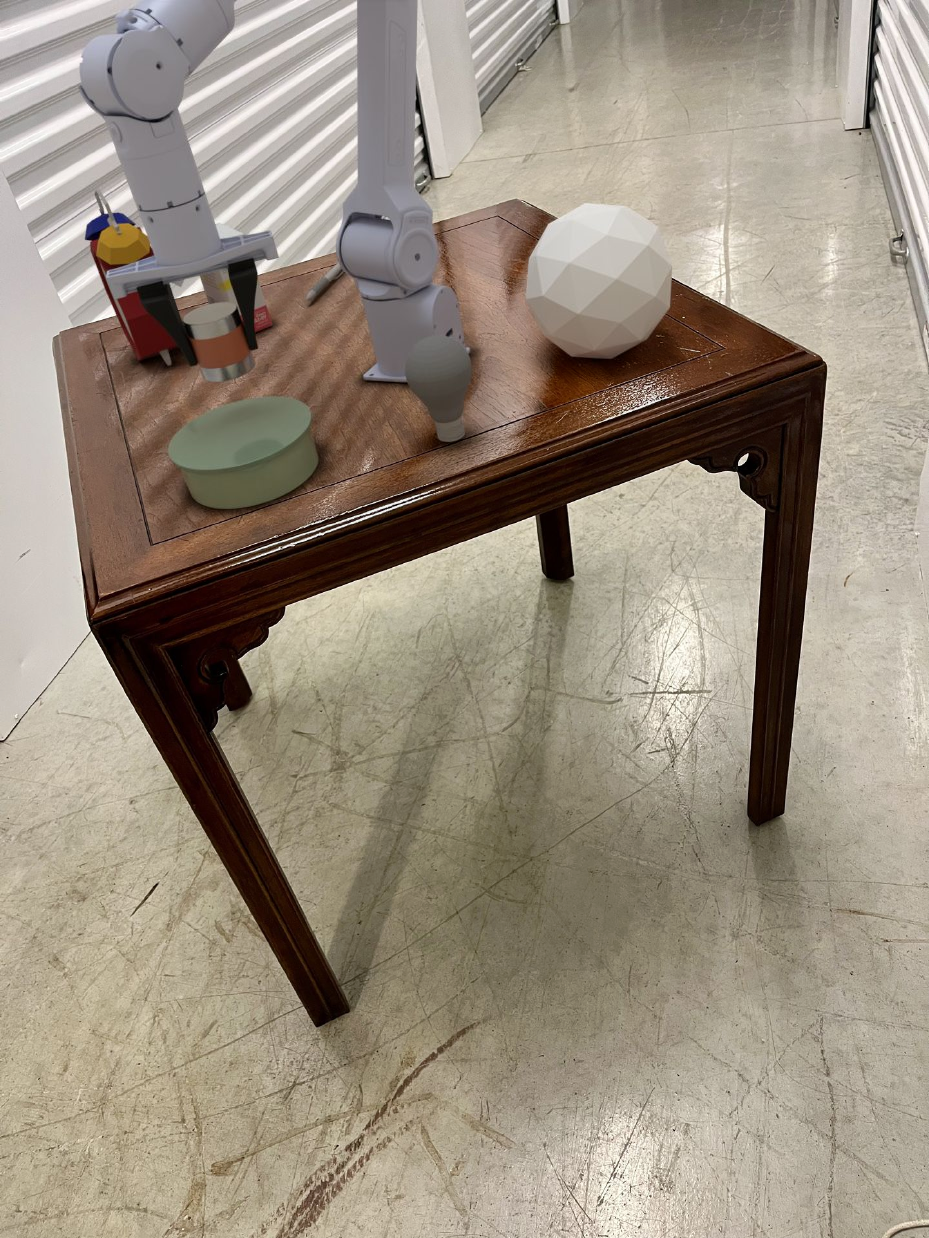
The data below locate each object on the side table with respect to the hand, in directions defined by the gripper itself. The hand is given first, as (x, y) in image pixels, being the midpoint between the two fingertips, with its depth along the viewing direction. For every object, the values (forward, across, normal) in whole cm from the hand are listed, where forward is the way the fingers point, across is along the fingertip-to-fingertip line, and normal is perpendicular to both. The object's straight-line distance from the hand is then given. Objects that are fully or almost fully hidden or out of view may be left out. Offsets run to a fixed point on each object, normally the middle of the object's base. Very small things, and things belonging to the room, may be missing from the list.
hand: (224, 353), depth 87 cm
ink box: (+11, -1, -37) cm, 38 cm away
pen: (+10, -13, -43) cm, 47 cm away
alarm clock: (+11, +9, -35) cm, 37 cm away
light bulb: (+11, -18, +8) cm, 22 cm away
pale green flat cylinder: (+10, +1, +4) cm, 11 cm away
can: (+2, 0, 0) cm, 2 cm away
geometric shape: (+11, -37, -2) cm, 39 cm away
